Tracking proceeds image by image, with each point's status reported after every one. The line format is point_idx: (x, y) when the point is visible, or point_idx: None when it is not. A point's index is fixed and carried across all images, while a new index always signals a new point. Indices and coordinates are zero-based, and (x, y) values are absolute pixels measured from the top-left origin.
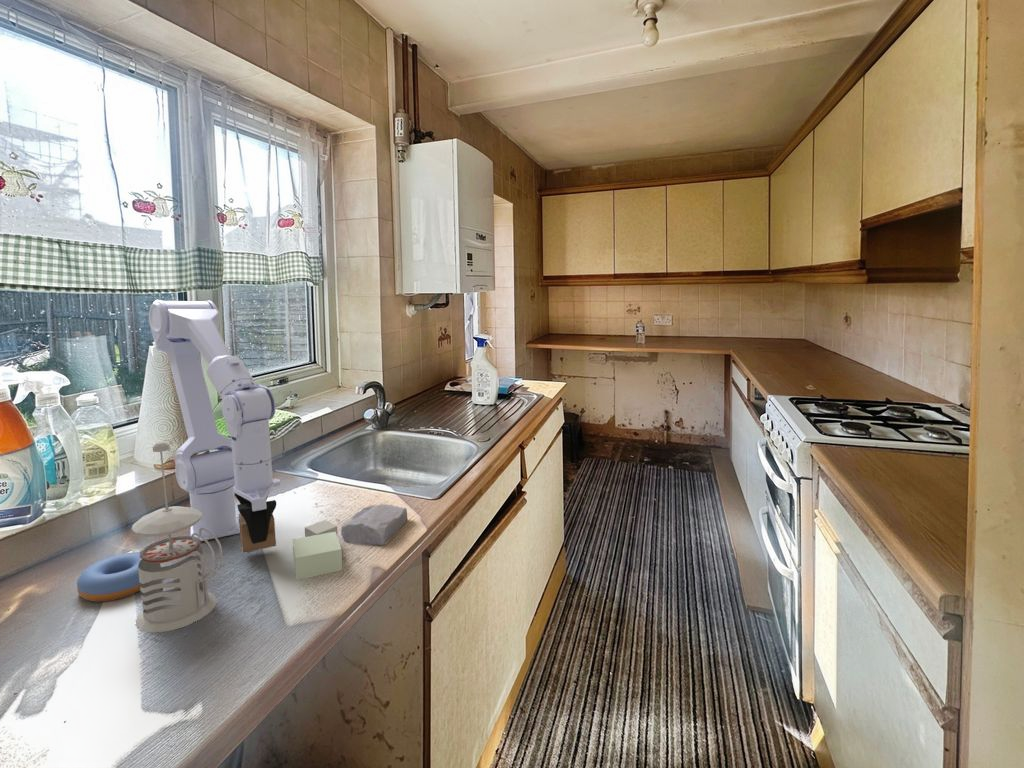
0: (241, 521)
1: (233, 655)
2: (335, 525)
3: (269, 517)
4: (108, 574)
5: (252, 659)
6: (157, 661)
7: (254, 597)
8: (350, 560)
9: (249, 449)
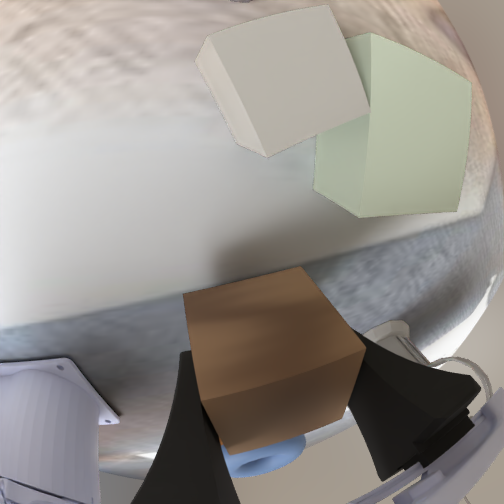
0: (310, 429)
1: (477, 267)
2: (316, 7)
3: (416, 366)
4: (289, 459)
5: (489, 247)
6: (438, 333)
7: (413, 267)
8: (388, 38)
9: None
